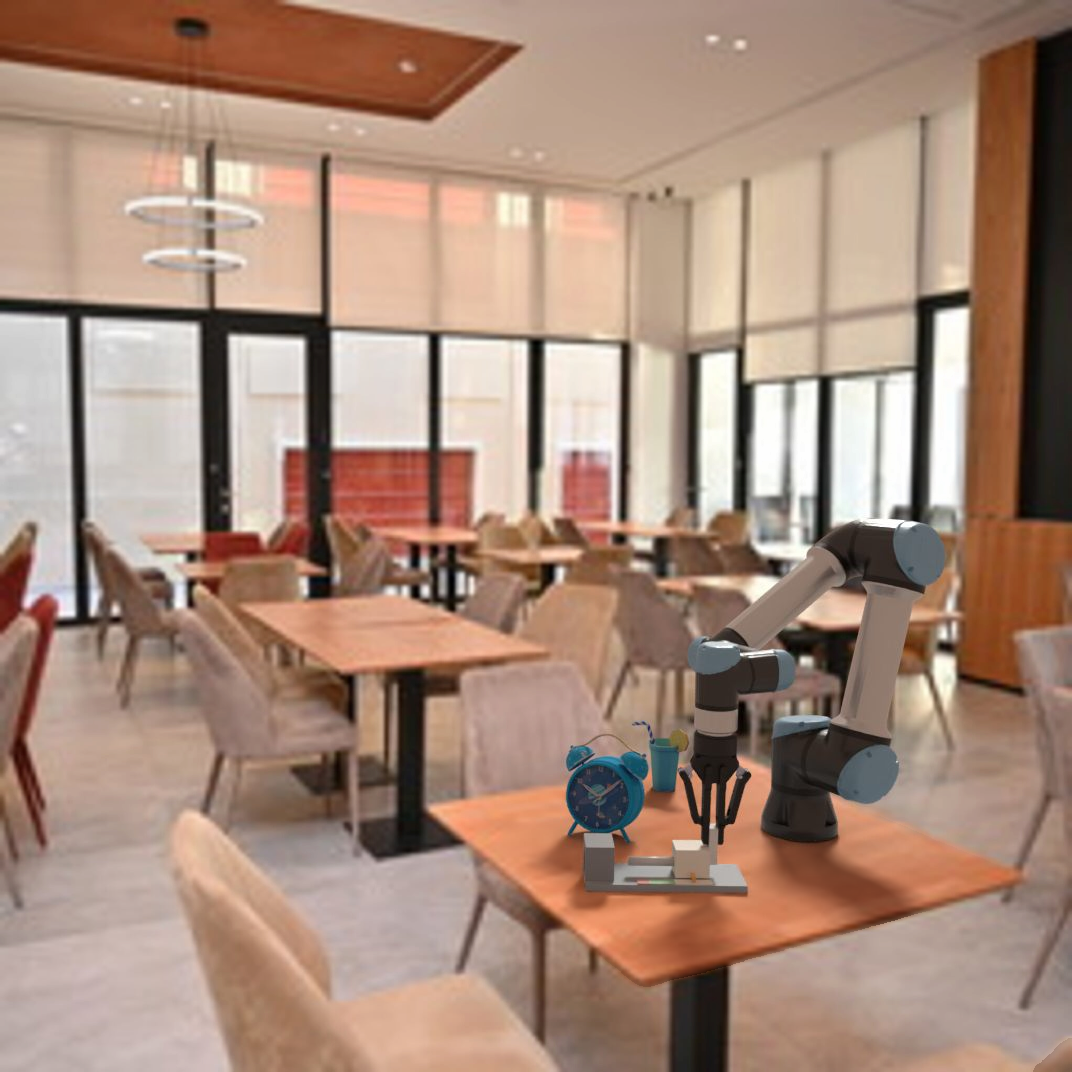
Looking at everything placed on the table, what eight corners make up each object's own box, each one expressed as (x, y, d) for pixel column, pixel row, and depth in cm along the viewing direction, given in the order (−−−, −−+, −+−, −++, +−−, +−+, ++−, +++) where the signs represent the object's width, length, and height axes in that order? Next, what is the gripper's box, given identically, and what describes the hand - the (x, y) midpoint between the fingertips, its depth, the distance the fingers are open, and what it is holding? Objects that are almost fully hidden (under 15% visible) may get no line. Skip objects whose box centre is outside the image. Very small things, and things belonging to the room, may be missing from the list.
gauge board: (736, 870, 194) (737, 831, 193) (747, 892, 184) (748, 852, 183) (582, 868, 194) (583, 830, 193) (585, 891, 184) (586, 850, 183)
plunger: (704, 867, 191) (705, 840, 191) (711, 882, 184) (712, 854, 184) (626, 866, 191) (627, 839, 191) (630, 882, 184) (631, 853, 184)
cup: (625, 788, 241) (626, 723, 240) (636, 779, 248) (637, 715, 247) (684, 797, 235) (686, 730, 234) (694, 787, 242) (696, 722, 241)
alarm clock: (555, 838, 209) (556, 738, 207) (571, 822, 218) (573, 726, 217) (638, 850, 203) (640, 747, 201) (651, 833, 213) (653, 734, 211)
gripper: (748, 726, 191) (743, 854, 192) (675, 724, 190) (671, 853, 192) (757, 736, 183) (752, 870, 185) (681, 735, 183) (677, 869, 185)
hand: (711, 861), depth 189 cm, fingers closed
